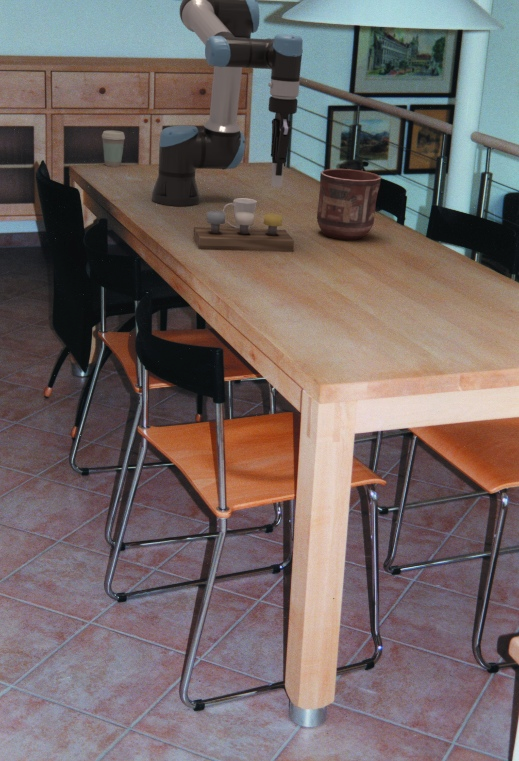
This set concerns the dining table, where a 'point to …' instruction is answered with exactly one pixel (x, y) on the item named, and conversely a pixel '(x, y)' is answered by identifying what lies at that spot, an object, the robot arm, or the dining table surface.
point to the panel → (243, 239)
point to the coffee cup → (113, 147)
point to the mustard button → (273, 222)
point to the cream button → (244, 221)
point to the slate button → (215, 220)
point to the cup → (242, 207)
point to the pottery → (347, 203)
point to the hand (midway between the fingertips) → (276, 186)
